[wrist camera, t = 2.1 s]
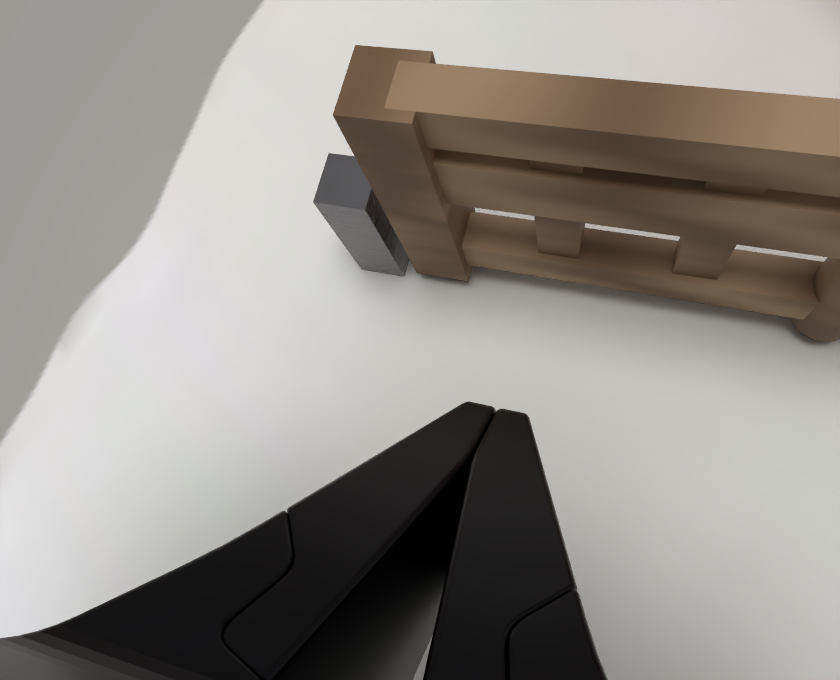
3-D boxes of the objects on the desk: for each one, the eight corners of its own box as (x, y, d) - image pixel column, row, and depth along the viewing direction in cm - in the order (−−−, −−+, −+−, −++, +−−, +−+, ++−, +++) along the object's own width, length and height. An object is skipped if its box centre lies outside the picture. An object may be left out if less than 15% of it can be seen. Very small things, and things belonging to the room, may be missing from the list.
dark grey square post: (920, 365, 20) (1177, 229, 12) (361, 269, 25) (254, 120, 16) (924, 312, 20) (1176, 143, 12) (373, 226, 25) (275, 61, 16)
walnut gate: (859, 289, 20) (1066, 104, 12) (853, 346, 20) (1063, 196, 12) (429, 224, 24) (355, 44, 15) (417, 272, 23) (332, 115, 15)
